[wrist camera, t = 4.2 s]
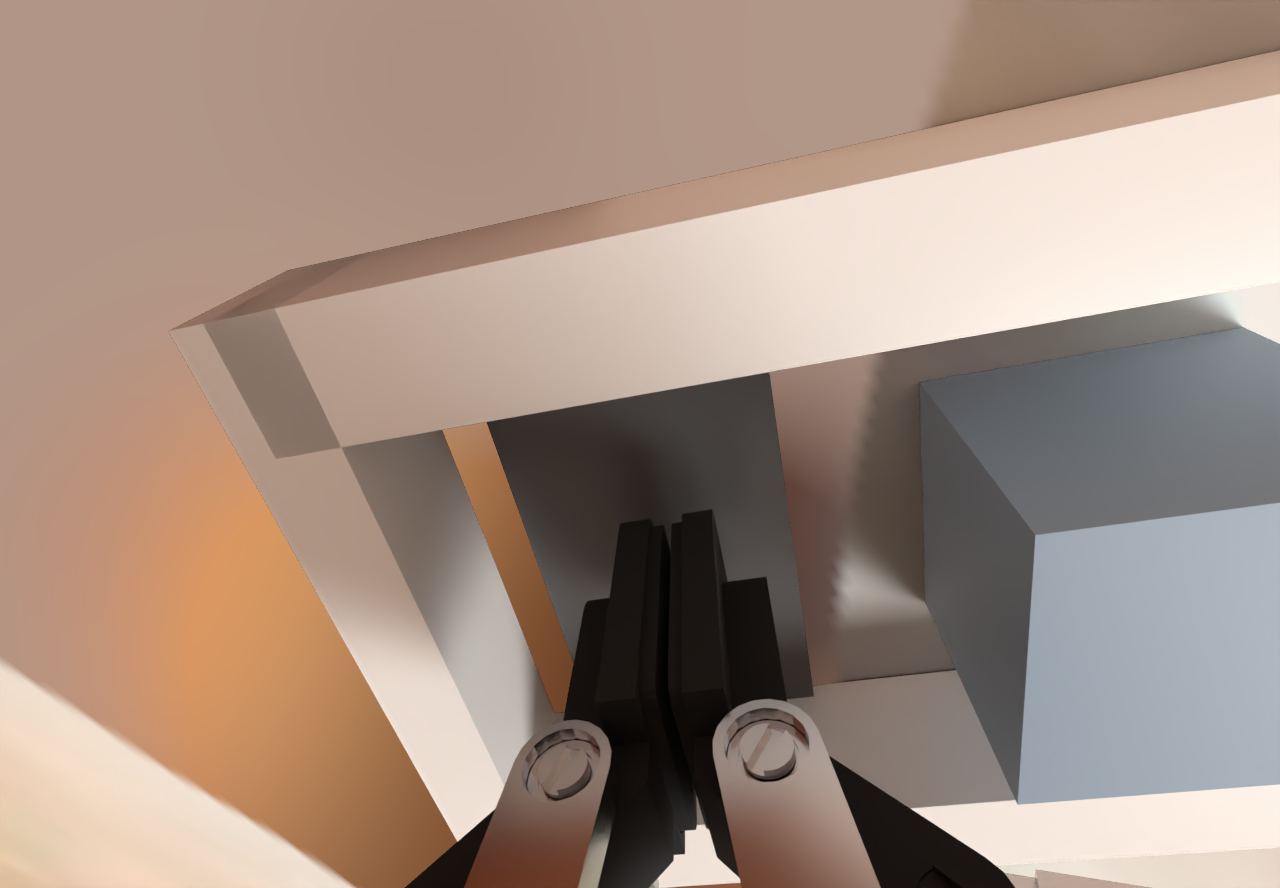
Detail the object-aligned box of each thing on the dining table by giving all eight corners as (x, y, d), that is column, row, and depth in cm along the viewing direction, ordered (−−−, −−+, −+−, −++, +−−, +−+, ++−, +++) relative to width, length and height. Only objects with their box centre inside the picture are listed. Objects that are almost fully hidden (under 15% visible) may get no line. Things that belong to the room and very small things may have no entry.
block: (1189, 566, 13) (1402, 774, 9) (924, 598, 14) (1017, 804, 10) (1238, 325, 11) (1548, 467, 7) (917, 379, 12) (1035, 535, 8)
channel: (1565, 674, 14) (1771, 814, 11) (519, 773, 17) (490, 898, 15) (2027, -116, 8) (2696, -208, 5) (287, 270, 11) (168, 331, 9)
